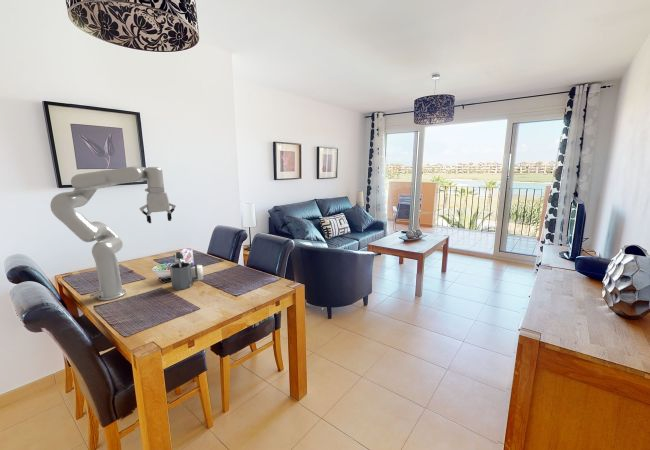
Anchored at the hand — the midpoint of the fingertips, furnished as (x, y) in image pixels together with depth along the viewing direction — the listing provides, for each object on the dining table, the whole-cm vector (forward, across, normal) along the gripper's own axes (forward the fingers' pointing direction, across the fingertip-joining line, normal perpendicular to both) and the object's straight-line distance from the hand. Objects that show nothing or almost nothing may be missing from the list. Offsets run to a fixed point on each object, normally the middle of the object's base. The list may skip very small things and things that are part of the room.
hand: (159, 221), depth 156 cm
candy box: (+40, +16, +18) cm, 47 cm away
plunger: (+39, +8, 0) cm, 40 cm away
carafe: (+40, +10, 0) cm, 41 cm away
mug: (+40, +19, +7) cm, 45 cm away
